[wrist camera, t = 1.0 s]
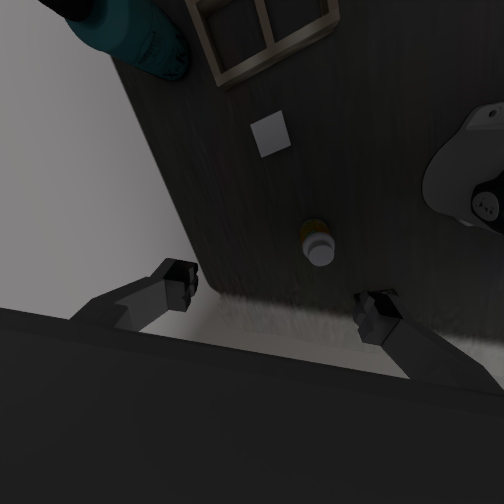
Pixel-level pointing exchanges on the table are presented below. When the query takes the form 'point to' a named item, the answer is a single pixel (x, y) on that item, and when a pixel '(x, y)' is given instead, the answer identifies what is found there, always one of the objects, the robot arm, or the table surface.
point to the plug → (271, 134)
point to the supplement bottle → (317, 242)
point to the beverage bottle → (128, 33)
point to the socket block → (206, 3)
